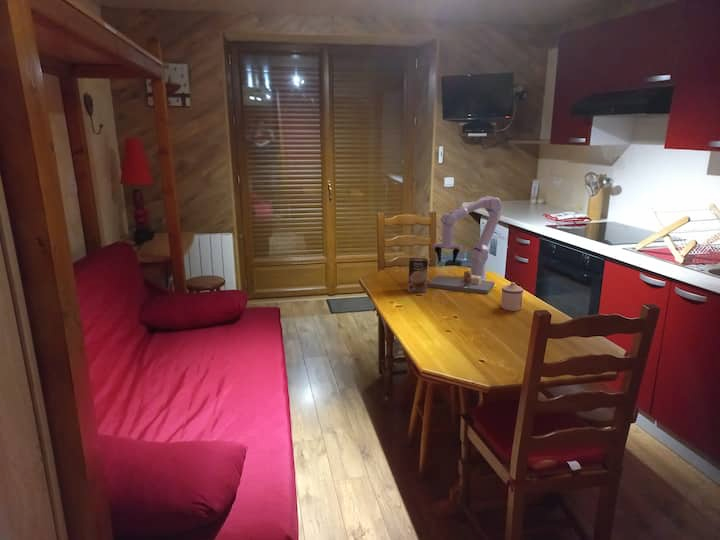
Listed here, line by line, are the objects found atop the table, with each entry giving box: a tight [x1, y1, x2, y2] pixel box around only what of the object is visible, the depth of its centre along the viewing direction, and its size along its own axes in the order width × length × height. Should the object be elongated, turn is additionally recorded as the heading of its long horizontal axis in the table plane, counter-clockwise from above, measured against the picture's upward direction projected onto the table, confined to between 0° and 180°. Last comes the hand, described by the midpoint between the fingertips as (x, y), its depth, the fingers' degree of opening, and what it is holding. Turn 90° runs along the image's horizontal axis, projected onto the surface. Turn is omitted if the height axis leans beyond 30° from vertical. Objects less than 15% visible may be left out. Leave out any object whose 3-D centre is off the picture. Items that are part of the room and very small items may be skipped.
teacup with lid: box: [500, 281, 524, 312], centre depth 218 cm, size 12×9×12 cm
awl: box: [463, 270, 472, 286], centre depth 244 cm, size 4×4×7 cm
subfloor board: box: [427, 274, 495, 295], centre depth 251 cm, size 16×30×2 cm, turn 64°
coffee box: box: [407, 257, 429, 293], centre depth 243 cm, size 9×6×16 cm
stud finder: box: [462, 275, 482, 284], centre depth 250 cm, size 5×8×3 cm, turn 63°
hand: (446, 262), depth 257 cm, fingers open, 7 cm apart
